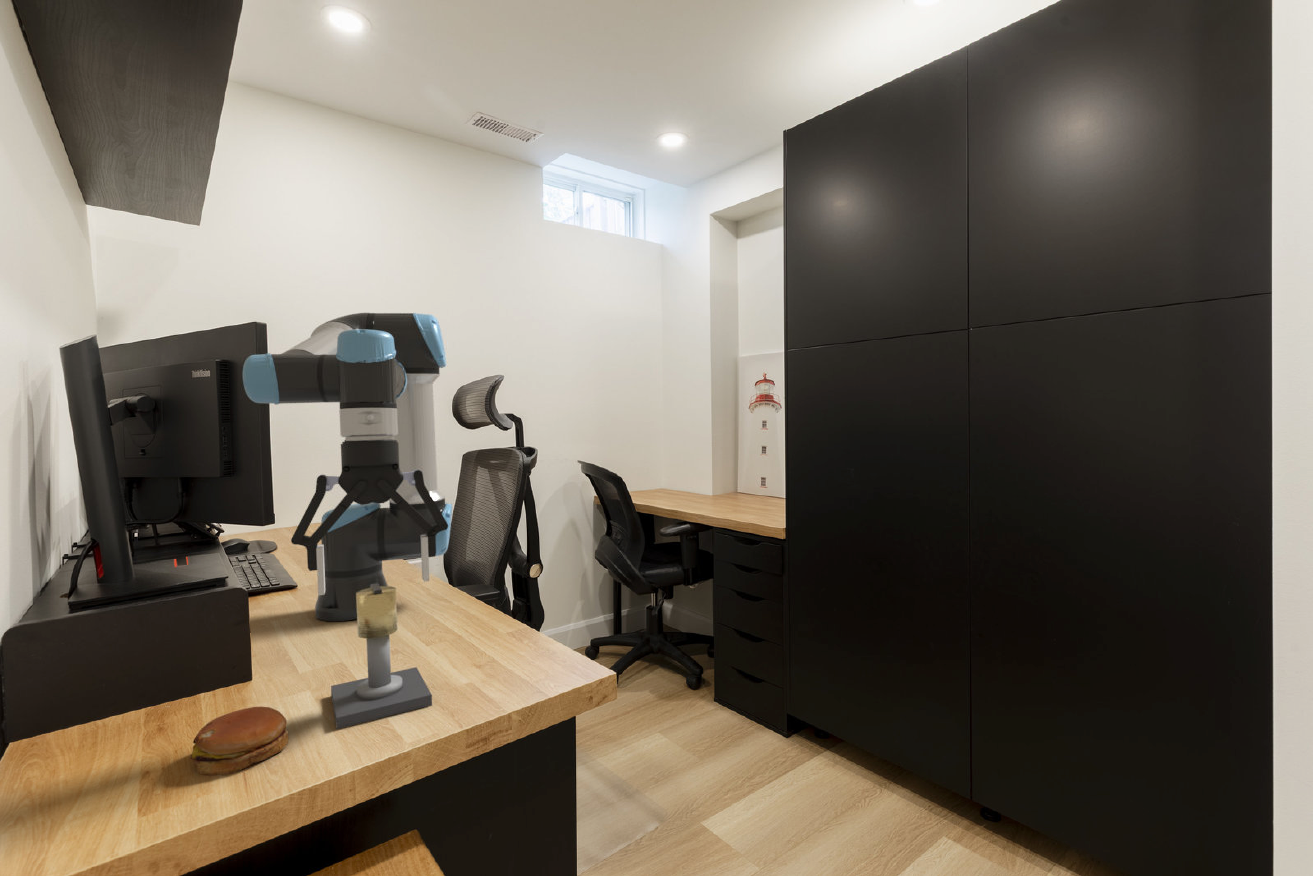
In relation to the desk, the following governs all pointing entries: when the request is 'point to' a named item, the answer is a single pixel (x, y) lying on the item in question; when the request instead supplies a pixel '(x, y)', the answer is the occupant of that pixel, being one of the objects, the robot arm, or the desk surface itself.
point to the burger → (239, 740)
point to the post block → (379, 689)
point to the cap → (376, 611)
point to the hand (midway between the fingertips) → (375, 586)
